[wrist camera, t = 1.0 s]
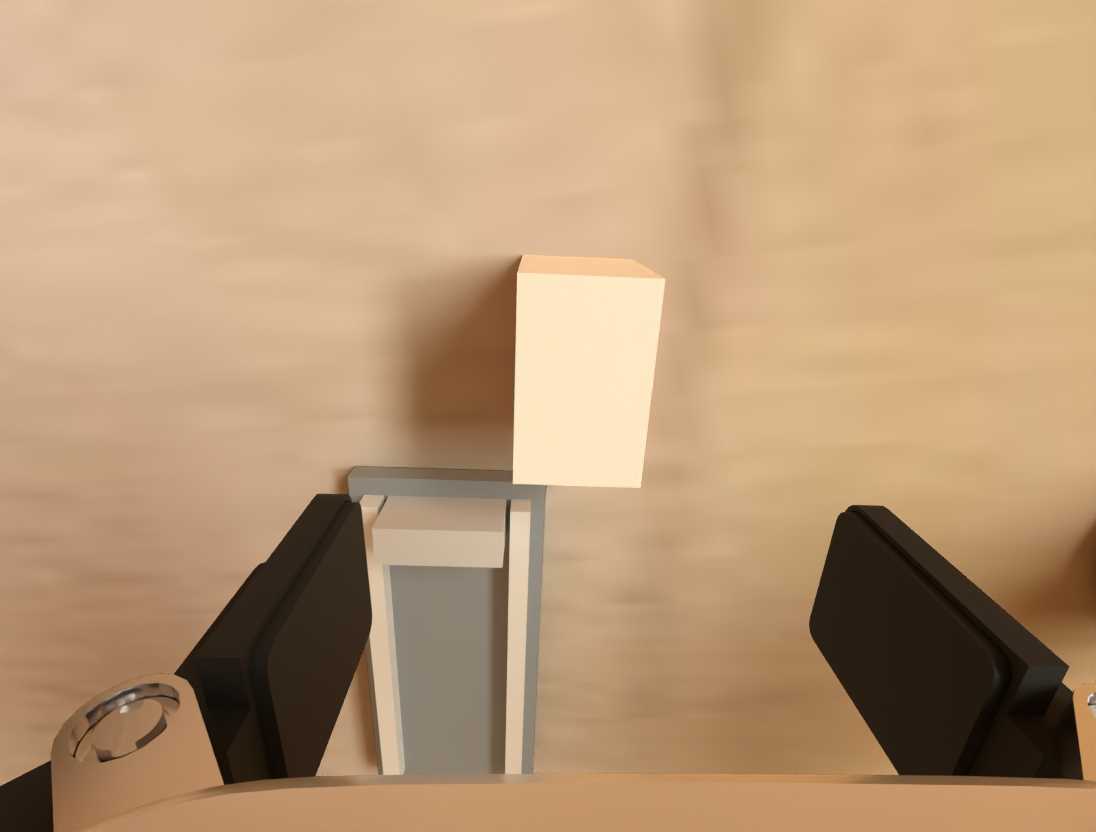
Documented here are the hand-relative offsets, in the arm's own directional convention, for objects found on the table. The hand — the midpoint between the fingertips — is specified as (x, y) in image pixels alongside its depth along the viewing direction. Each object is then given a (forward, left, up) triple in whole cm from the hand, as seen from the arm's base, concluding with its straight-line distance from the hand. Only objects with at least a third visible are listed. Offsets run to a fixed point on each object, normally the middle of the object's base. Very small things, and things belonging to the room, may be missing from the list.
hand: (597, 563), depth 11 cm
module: (0, 0, -17) cm, 17 cm away
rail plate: (+6, +18, -17) cm, 25 cm away
